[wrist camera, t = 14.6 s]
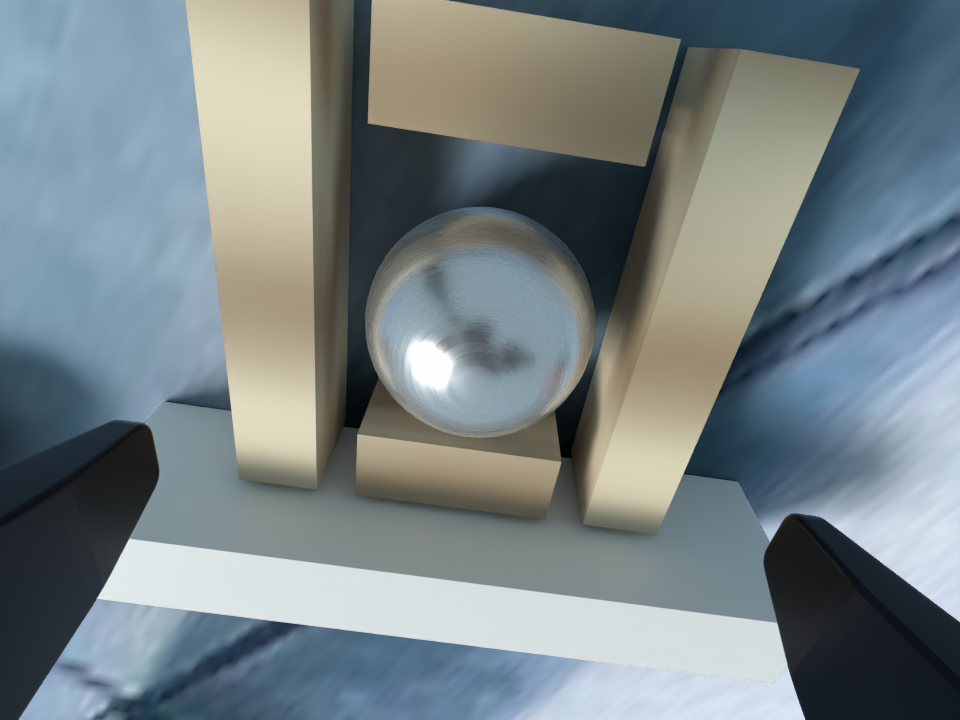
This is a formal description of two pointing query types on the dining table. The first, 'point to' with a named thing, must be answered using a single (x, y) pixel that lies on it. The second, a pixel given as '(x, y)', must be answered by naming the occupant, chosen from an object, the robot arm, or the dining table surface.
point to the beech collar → (515, 122)
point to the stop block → (451, 562)
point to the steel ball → (480, 322)
